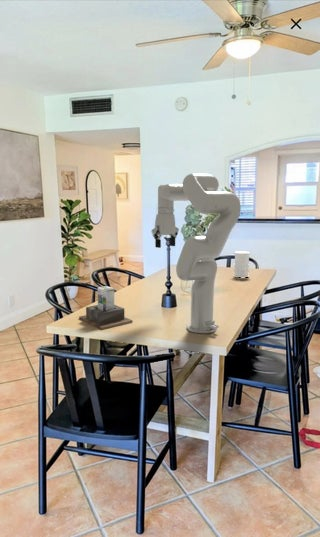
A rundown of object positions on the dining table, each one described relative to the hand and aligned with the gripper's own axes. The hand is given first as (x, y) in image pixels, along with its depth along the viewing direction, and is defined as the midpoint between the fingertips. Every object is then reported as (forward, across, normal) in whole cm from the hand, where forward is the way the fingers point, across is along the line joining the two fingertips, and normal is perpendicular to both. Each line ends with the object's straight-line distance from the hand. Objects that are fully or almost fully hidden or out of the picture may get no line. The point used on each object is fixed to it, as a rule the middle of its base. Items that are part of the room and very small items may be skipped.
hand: (165, 246), depth 189 cm
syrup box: (+31, +31, -6) cm, 45 cm away
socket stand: (+32, +32, -6) cm, 46 cm away
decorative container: (+32, -100, -26) cm, 109 cm away
